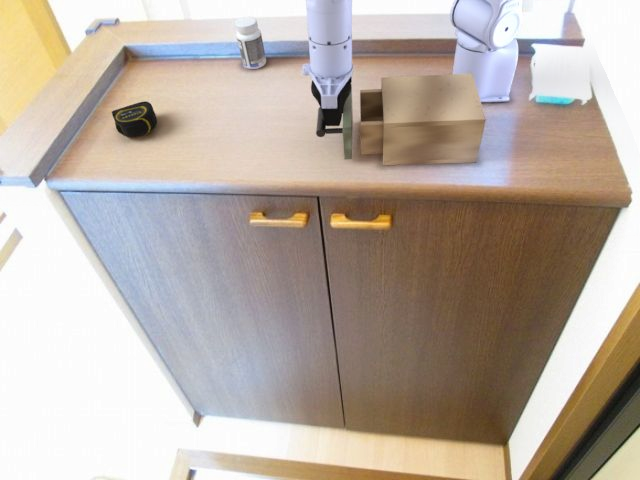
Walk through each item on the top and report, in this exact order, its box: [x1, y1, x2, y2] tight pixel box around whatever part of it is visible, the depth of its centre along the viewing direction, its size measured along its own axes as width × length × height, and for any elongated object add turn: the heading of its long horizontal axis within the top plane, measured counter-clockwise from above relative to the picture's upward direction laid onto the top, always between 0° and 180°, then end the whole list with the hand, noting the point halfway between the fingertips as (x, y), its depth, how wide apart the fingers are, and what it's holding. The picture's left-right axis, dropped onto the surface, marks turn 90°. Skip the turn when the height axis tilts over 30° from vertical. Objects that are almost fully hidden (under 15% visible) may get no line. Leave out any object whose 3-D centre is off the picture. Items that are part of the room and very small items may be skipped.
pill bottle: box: [235, 16, 267, 70], centre depth 89 cm, size 5×5×8 cm
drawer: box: [315, 86, 384, 160], centre depth 70 cm, size 17×10×6 cm, turn 87°
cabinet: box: [380, 73, 487, 166], centre depth 69 cm, size 14×12×8 cm
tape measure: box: [111, 101, 158, 138], centre depth 79 cm, size 7×7×4 cm
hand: (332, 123), depth 70 cm, fingers closed, pressing on drawer
